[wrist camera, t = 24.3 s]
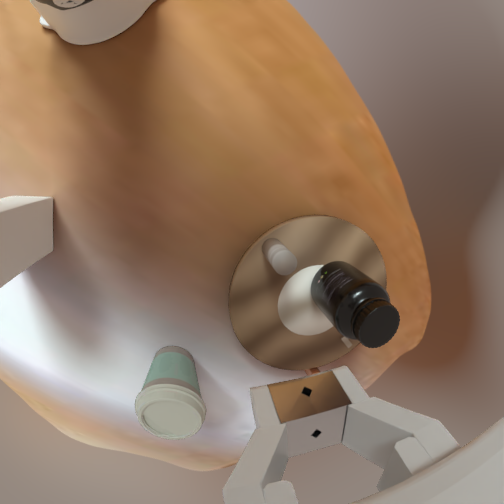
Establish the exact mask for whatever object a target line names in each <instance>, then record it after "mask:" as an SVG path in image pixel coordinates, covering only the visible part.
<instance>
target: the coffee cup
mask: <svg viewBox="0 0 504 504" xmlns="http://www.w3.org/2000/svg"><path fill="white" fill-rule="evenodd" d="M135 410H136V414H137V416H138V420H139V422H140V424H141V426H142V427H143V428H144V429H145V430H146V431H148V432H149V433H151V434H152V435H154V436H157V437H160V438H163V439H169V440H179V439H185V438H188V437H191V436H193V435H194V434H196V433H197V432H198V431H199V429H200V428H201V425H202V423H203V422H204V419H205V415H206V407H205V404H204V402H203V400H202V399H201V395H200V390H199V385H198V381H197V376H196V371H195V366H194V361H193V358H192V356H191V355H190V353H189V352H188V351H186V350H185V349H183V348H180V347H177V346H167V347H164V348H162V349H160V350H159V351H158V352H157V353H156V355H155V357H154V359H153V362H152V364H151V367H150V370H149V372H148V375H147V377H146V380H145V383H144V385H143V388H142V390H141V392H140V393H139V394H138V396H137V397H136V400H135Z"/></svg>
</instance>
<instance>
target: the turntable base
mask: <svg viewBox="0 0 504 504" xmlns="http://www.w3.org/2000/svg"><path fill="white" fill-rule="evenodd" d="M305 372H306V374H307V375H308V376H309V375H313V374H317V373H320V371H319V370H318V368H317V367H316V368H312V369H305Z"/></svg>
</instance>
